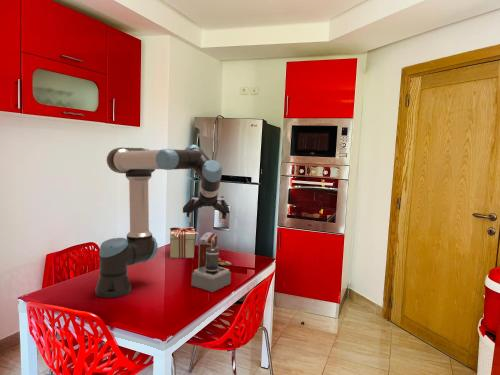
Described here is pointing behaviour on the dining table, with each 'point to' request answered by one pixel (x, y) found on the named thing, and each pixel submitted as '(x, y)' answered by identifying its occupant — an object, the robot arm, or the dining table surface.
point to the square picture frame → (199, 271)
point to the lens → (212, 260)
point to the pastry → (223, 262)
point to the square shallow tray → (210, 281)
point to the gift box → (182, 242)
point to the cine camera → (206, 246)
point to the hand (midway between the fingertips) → (204, 220)
